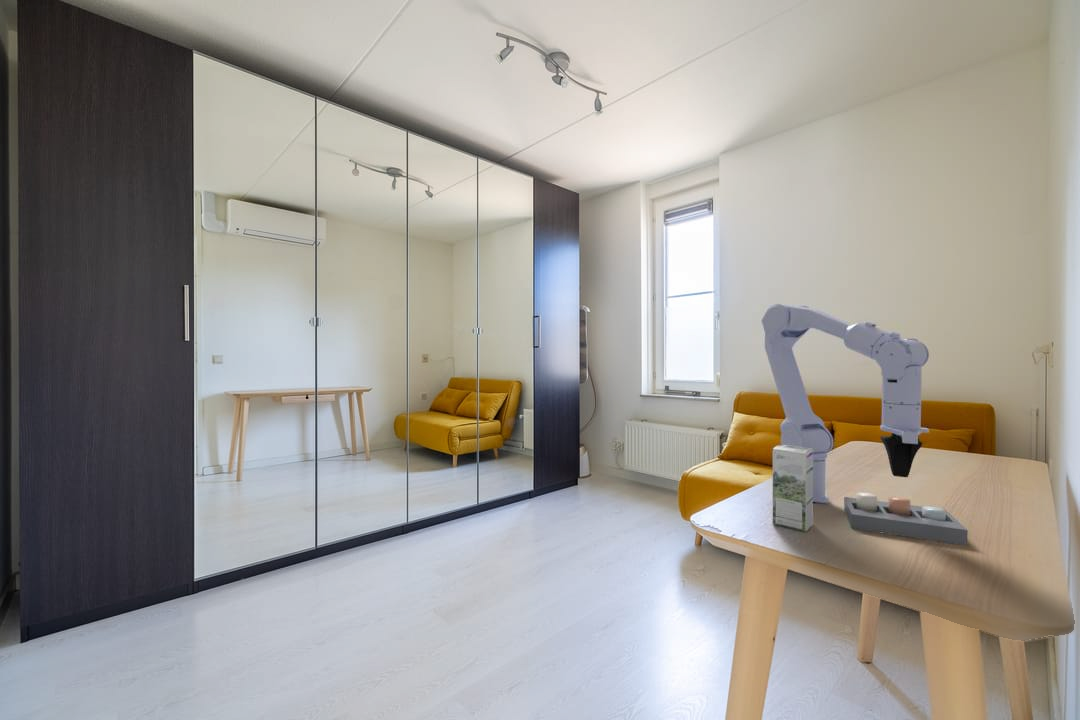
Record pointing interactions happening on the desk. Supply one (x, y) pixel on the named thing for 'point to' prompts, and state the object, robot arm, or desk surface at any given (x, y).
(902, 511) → the terracotta key
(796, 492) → the syrup box
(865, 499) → the ivory key
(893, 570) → the desk surface
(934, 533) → the grey compartment tray
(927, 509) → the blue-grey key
